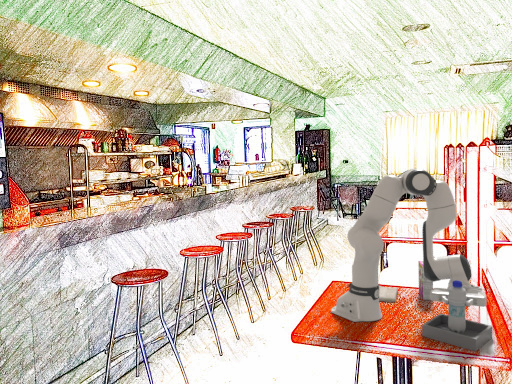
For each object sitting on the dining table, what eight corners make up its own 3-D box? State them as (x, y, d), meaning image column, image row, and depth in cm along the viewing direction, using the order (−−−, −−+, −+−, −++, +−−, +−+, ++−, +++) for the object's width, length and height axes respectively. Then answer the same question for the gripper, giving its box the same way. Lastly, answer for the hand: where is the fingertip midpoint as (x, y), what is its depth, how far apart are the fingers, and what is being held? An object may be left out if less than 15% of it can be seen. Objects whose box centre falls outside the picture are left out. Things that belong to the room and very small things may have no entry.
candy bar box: (417, 292, 228) (417, 260, 226) (428, 293, 227) (428, 260, 225) (422, 300, 217) (422, 266, 215) (433, 300, 216) (433, 266, 214)
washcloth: (398, 291, 232) (398, 286, 231) (396, 303, 215) (396, 297, 214) (373, 290, 236) (373, 284, 235) (370, 301, 219) (370, 295, 218)
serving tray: (422, 336, 177) (422, 324, 177) (440, 323, 188) (440, 313, 188) (475, 351, 163) (476, 339, 162) (492, 337, 174) (492, 326, 173)
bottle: (468, 335, 171) (468, 283, 169) (449, 334, 173) (449, 283, 171) (464, 328, 178) (464, 278, 176) (445, 327, 179) (446, 277, 177)
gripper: (431, 282, 190) (428, 292, 178) (486, 287, 181) (486, 298, 169) (431, 297, 191) (427, 308, 178) (486, 303, 182) (486, 315, 169)
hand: (457, 303), depth 173 cm, fingers closed on bottle, 6 cm apart
